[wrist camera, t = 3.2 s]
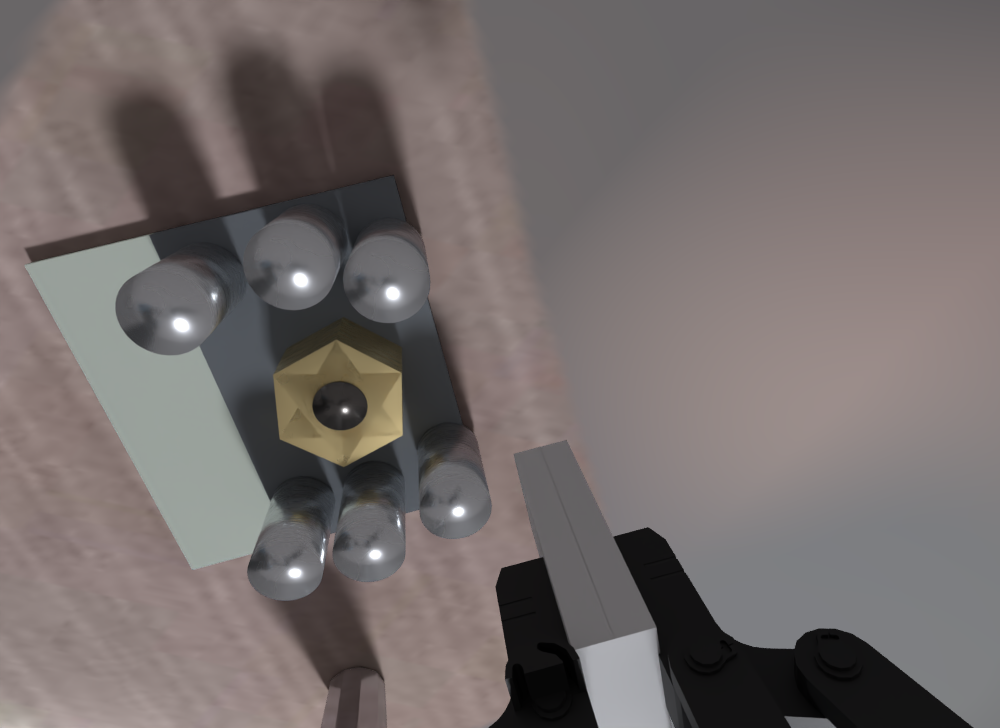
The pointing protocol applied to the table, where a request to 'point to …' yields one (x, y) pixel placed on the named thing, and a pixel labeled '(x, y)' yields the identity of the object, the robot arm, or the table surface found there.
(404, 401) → the mat
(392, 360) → the nut
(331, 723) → the milkshake
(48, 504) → the table surface
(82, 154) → the table surface
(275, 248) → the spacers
